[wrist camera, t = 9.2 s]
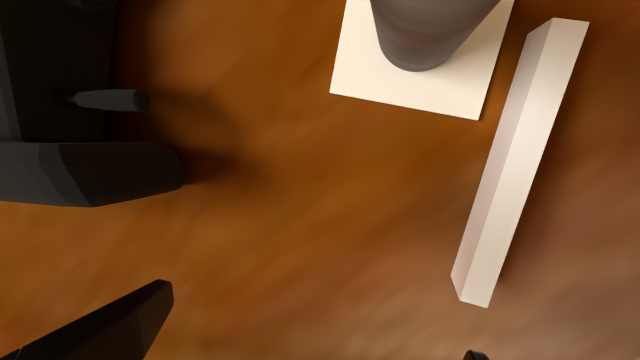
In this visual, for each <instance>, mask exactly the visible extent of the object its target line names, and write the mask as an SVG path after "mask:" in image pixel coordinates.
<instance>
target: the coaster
mask: <svg viewBox="0 0 640 360" xmlns="http://www.w3.org/2000/svg"><path fill="white" fill-rule="evenodd" d="M513 3H514V0H501V1H500V2H499V3H498V4H497V5H496V6H495V8H494V9H493V10H492V11H491V12H490V13H489V14H488V15H487V17H486V18H485V19H484V20H483V21H482V22H481V23H480V24H479V25H478V27H477V28H476V29H475V30H474V31H473V32H472V33H471V34H470V36H469V37H468V38H467V39H466V40H465V41H464V42H463V43H462V45H461V46H460V47H459V48H458V49H457V50H456V51H455V52H454V53H453V55H452V56H451V57H450V58H449V59H448V60H447V61H445V62H444V63H443V64H441V65H439V66H438V67H436V68H433V69H431V70H428V71H423V72H409V71H405V70H402V69H399V68H398V67H396V66H394V65H393V64H392V63H390V62H389V61H388V60H387V58H386V57H385V56H384V54H383V52H382V50H381V48H380V45H379V41H378V37H377V32H376V27H375V23H374V18H373V13H372V9H371V4H370V0H347V3H346V8H345V13H344V19H343V24H342V29H341V34H340V40H339V45H338V50H337V56H336V61H335V66H334V71H333V77H332V82H331V87H330V93H333V94H338V95H343V96H349V97H354V98H359V99H365V100H370V101H375V102H381V103H386V104H392V105H397V106H402V107H408V108H413V109H418V110H424V111H429V112H434V113H440V114H445V115H450V116H456V117H461V118H466V119H472V120H478V119H479V115H480V112H481V109H482V106H483V102H484V99H485V96H486V92H487V89H488V86H489V82H490V79H491V76H492V72H493V69H494V66H495V63H496V59H497V56H498V53H499V49H500V46H501V43H502V39H503V36H504V33H505V29H506V26H507V23H508V20H509V16H510V13H511V10H512V6H513Z"/></svg>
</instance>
